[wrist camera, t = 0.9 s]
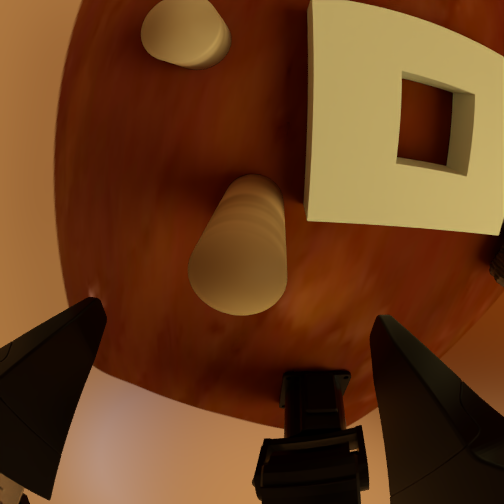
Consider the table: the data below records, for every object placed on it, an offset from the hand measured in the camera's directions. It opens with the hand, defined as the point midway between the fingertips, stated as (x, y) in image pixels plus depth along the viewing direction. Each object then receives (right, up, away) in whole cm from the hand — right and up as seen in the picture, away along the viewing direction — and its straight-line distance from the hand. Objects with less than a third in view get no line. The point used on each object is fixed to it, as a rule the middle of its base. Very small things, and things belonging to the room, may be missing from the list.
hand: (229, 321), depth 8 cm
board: (+11, +10, +5) cm, 15 cm away
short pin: (-2, +14, +4) cm, 15 cm away
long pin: (+1, +5, +9) cm, 10 cm away
